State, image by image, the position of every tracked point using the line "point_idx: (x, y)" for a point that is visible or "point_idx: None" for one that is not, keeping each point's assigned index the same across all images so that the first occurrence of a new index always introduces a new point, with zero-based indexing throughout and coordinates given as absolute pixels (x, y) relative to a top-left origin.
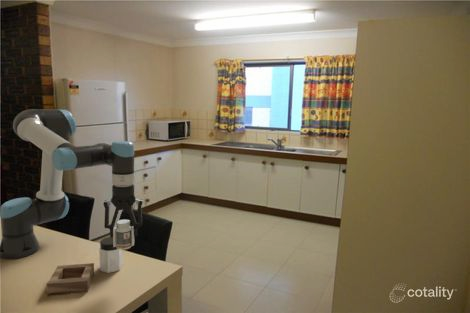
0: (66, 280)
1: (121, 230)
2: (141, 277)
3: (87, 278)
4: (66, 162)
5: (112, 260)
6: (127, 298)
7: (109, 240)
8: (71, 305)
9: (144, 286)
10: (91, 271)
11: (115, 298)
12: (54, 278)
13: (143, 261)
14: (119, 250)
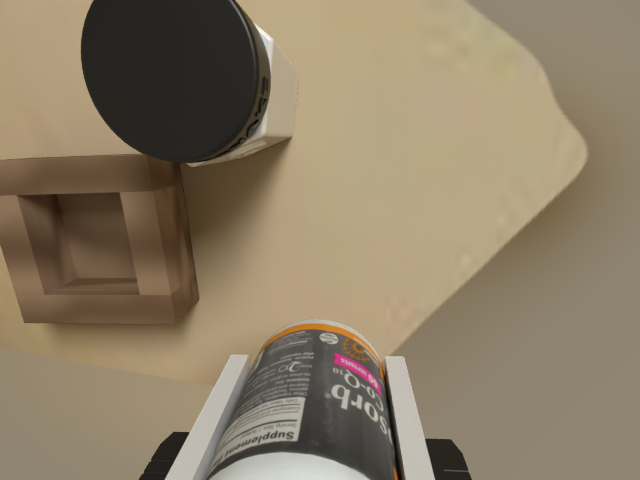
0: (88, 309)
1: None
2: (406, 219)
3: (170, 306)
4: None
5: (243, 154)
6: None
7: (155, 67)
8: (173, 365)
9: (420, 294)
10: (164, 224)
11: None
12: (29, 284)
13: (416, 36)
14: (269, 127)
